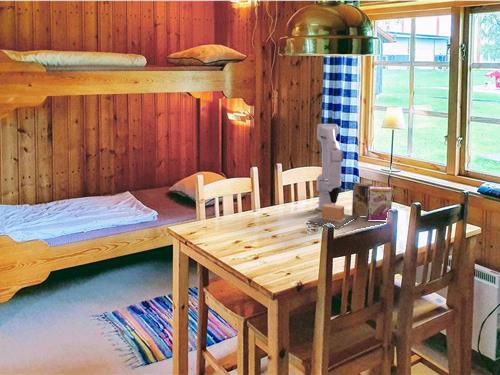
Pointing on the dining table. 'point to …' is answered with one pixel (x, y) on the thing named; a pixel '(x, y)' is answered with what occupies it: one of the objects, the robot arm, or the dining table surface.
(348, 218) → the pin board
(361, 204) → the coffee box
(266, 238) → the dining table surface
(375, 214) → the candy bar box
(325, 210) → the block
